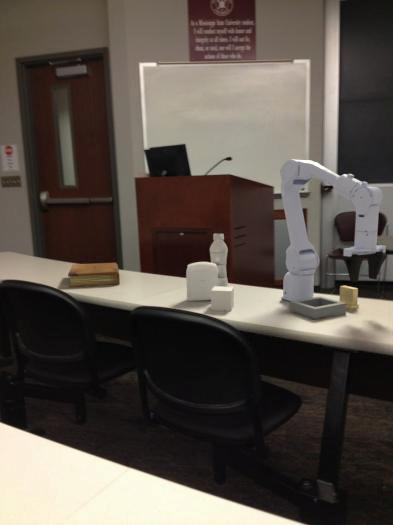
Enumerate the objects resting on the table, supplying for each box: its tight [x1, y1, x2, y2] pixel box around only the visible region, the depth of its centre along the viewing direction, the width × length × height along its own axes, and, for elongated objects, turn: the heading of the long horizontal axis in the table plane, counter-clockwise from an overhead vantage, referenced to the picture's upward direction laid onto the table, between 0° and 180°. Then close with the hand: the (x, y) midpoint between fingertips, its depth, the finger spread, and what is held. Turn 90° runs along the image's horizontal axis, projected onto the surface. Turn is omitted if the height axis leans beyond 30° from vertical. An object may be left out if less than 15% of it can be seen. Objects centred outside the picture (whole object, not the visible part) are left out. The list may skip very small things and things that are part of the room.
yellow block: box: [338, 285, 360, 310], centre depth 132 cm, size 4×5×6 cm
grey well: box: [289, 295, 347, 321], centre depth 126 cm, size 10×12×3 cm
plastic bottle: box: [209, 233, 229, 287], centre depth 155 cm, size 6×7×20 cm
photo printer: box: [185, 261, 218, 302], centre depth 142 cm, size 10×4×12 cm, turn 96°
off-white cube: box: [210, 286, 235, 312], centre depth 132 cm, size 6×6×6 cm
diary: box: [67, 262, 121, 288], centre depth 177 cm, size 23×19×6 cm
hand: (363, 280), depth 122 cm, fingers open, 7 cm apart
